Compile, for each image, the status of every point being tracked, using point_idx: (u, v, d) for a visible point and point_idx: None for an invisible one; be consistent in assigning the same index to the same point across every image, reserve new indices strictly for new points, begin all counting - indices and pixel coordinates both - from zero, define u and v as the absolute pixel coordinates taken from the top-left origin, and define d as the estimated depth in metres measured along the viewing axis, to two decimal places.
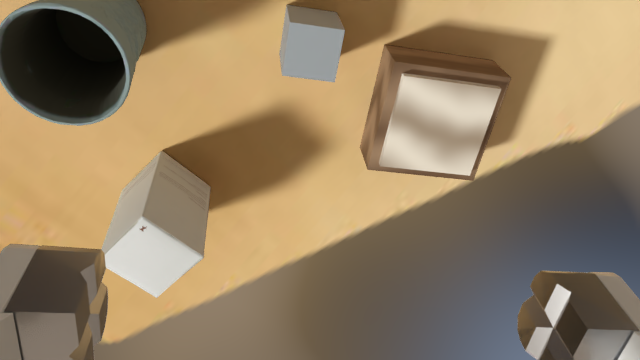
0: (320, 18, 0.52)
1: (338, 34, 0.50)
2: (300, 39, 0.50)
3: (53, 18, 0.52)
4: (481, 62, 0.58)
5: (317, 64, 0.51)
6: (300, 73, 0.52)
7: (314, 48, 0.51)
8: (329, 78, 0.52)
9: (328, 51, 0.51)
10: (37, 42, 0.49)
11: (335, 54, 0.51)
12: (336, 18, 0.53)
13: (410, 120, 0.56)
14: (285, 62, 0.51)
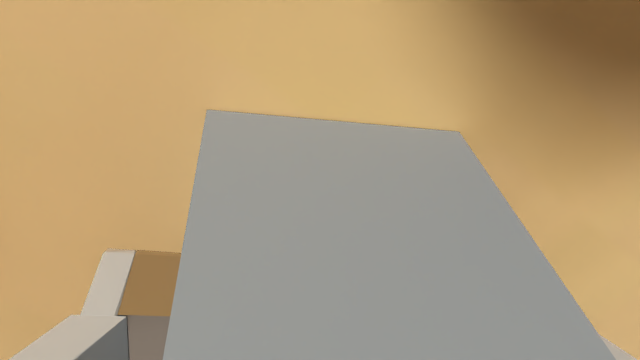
0: None
1: None
2: None
3: None
4: None
5: None
6: None
7: None
8: None
9: None
10: None
11: None
12: None
13: None
14: None
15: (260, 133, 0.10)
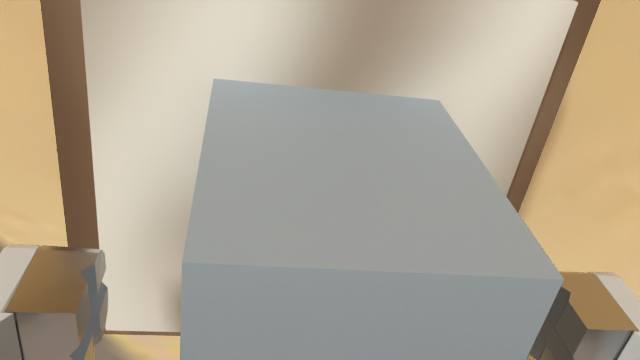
0: None
1: None
2: (442, 338, 0.08)
3: None
4: None
5: None
6: (214, 356, 0.08)
7: None
8: None
9: None
10: None
11: None
12: None
13: (355, 64, 0.12)
14: (283, 274, 0.07)
15: (261, 97, 0.11)
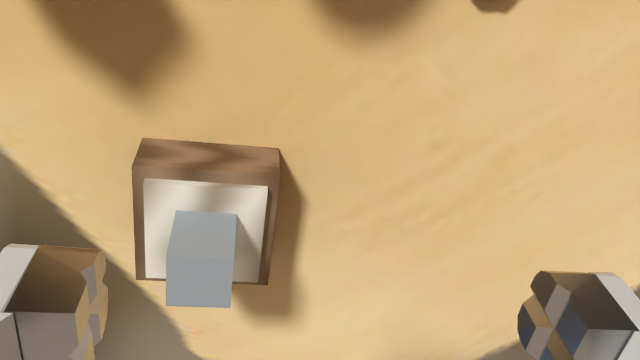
0: None
1: (224, 303, 0.44)
2: (214, 270, 0.42)
3: None
4: None
5: (185, 288, 0.43)
6: (172, 273, 0.42)
7: (204, 284, 0.43)
8: (170, 300, 0.44)
9: (203, 296, 0.44)
10: None
11: (200, 302, 0.44)
12: None
13: (212, 206, 0.47)
14: (183, 258, 0.42)
15: (187, 216, 0.46)
